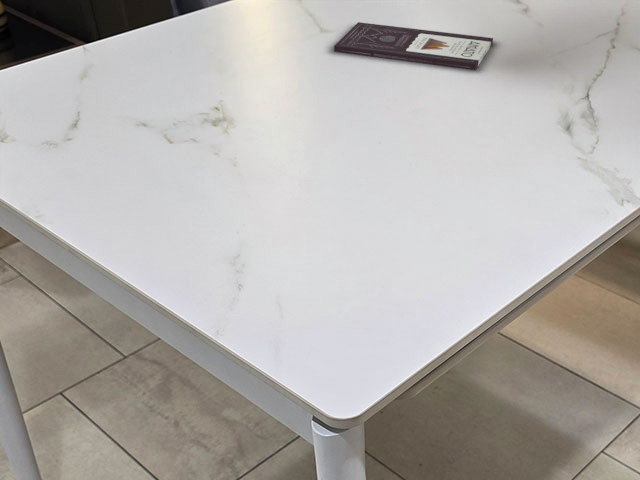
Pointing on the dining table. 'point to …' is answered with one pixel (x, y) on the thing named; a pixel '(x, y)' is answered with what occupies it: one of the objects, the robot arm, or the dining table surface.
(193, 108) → the dining table surface
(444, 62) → the chocolate bar
